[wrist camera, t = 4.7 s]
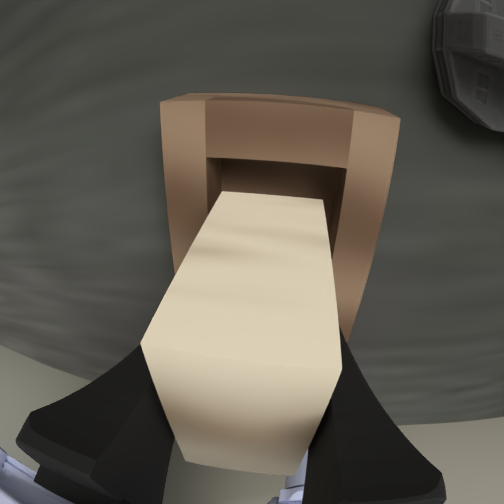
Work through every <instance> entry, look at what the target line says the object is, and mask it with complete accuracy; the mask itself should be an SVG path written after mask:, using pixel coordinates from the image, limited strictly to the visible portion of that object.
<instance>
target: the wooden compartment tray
mask: <svg viewBox="0 0 504 504" xmlns="http://www.w3.org/2000/svg"><path fill="white" fill-rule="evenodd" d="M160 113H161V134H162V151H163V165H164V178H165V190H166V201H167V211H168V221H169V230H170V239H171V248H172V256H173V264H174V271H175V275H176V273H177V271H178V269H179V267H180V265H181V264H182V262H183V260H184V258H185V256H186V254H187V253H188V251H189V249H190V247H191V245H192V243H193V242H194V240H195V238H196V236H197V234H198V233H199V231H200V229H201V227H202V226H203V224H204V222H205V220H206V218H207V217H208V215H209V213H210V211H211V210H212V208H213V206H214V204H215V203H216V201H217V199H218V198H219V196H220V194H221V192H222V191H225V192H240V193H254V194H266V195H278V196H290V197H300V198H311V199H320V200H323V204H324V210H325V217H326V223H327V230H328V237H329V244H330V252H331V259H332V267H333V276H334V284H335V293H336V302H337V312H338V323H339V325H340V328H341V330H342V333H343V335H344V338H345V340H346V342H348V339H349V336H350V333H351V330H352V327H353V324H354V321H355V318H356V314H357V311H358V308H359V305H360V301H361V298H362V295H363V291H364V288H365V285H366V281H367V278H368V274H369V270H370V267H371V263H372V259H373V255H374V252H375V248H376V244H377V240H378V236H379V231H380V227H381V223H382V218H383V214H384V210H385V205H386V200H387V195H388V191H389V186H390V180H391V175H392V170H393V164H394V159H395V153H396V147H397V140H398V134H399V127H400V120H401V119H400V118H398V117H397V116H395V115H393V114H391V113H389V112H387V111H385V110H383V109H381V108H379V107H376V106H370V105H364V104H357V103H350V102H343V101H336V100H328V99H319V98H309V97H298V96H285V95H269V94H245V93H194V94H186V95H182V96H179V97H175V98H172V99H169V100H165V101H162V102H160Z"/></svg>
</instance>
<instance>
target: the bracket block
mask: <svg viewBox="0 0 504 504" xmlns="http://www.w3.org/2000/svg"><path fill="white" fill-rule="evenodd" d="M140 344H141V347H142V350H143V353H144V356H145V359H146V362H147V365H148V368H149V371H150V374H151V377H152V379H153V382H154V385H155V388H156V390H157V393H158V396H159V398H160V401H161V404H162V406H163V409H164V411H165V414H166V416H167V419H168V421H169V424H170V426H171V429H172V431H173V433H174V436H175V438H176V440H177V442H178V445H179V447H180V449H181V452H182V454H183V456H184V458H185V460H186V461H187V462H192V463H197V464H202V465H207V466H212V467H219V468H224V469H231V470H238V471H245V472H253V473H262V474H272V475H284V476H294V475H295V473H296V471H297V469H298V468H299V466H300V464H301V462H302V460H303V458H304V455H305V453H306V451H307V449H308V447H309V445H310V443H311V441H312V439H313V437H314V435H315V432H316V430H317V428H318V426H319V424H320V421H321V419H322V417H323V415H324V412H325V410H326V408H327V405H328V403H329V401H330V398H331V396H332V393H333V391H334V388H335V386H336V384H337V381H338V378H339V376H340V373H341V371H342V359H341V346H340V334H339V323H338V312H337V302H336V293H335V284H334V276H333V267H332V259H331V252H330V244H329V237H328V230H327V223H326V217H325V210H324V204H323V200H320V199H311V198H300V197H290V196H278V195H266V194H254V193H240V192H225V191H222V192H221V194H220V196H219V198H218V199H217V201H216V203H215V204H214V206H213V208H212V210H211V211H210V213H209V215H208V217H207V218H206V220H205V222H204V224H203V226H202V227H201V229H200V231H199V233H198V234H197V236H196V238H195V240H194V242H193V243H192V245H191V247H190V249H189V251H188V253H187V254H186V256H185V258H184V260H183V262H182V264H181V265H180V267H179V269H178V271H177V273H176V275H175V277H174V279H173V280H172V282H171V284H170V286H169V288H168V290H167V292H166V294H165V296H164V298H163V299H162V301H161V303H160V305H159V307H158V309H157V311H156V313H155V315H154V317H153V319H152V321H151V323H150V325H149V327H148V329H147V331H146V333H145V335H144V337H143V339H142V341H141V343H140Z"/></svg>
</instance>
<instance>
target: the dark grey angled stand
mask: <svg viewBox="0 0 504 504" xmlns="http://www.w3.org/2000/svg"><path fill="white" fill-rule="evenodd" d="M431 51H432V55H433V59H434V64H435V68H436V73H437V78H438V83H439V88H440V93H441V95H442V96H443V97H444V98H446V99H447V100H448V101H449V102H450V103H452V104H453V105H454V106H455V107H457V108H458V109H459V110H460V111H461V112H462V113H464V114H465V115H466V116H467V117H468V118H469V119H470V120H472V121H473V122H475V123H477V124H479V125H481V126H484V127H486V128H488V129H490V130H493V131H499V132H504V0H439V2H438V5H437V7H436V9H435V12H434V14H433V25H432V48H431Z"/></svg>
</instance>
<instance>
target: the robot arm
mask: <svg viewBox="0 0 504 504" xmlns="http://www.w3.org/2000/svg"><path fill="white" fill-rule="evenodd" d="M339 334H340V346H341V359H342V371H341V373H340V376H339V378H338V381H337V384H336V386H335V388H334V391H333V393H332V396H331V398H330V401H329V403H328V405H327V408H326V410H325V412H324V415H323V417H322V419H321V421H320V424H319V426H318V428H317V430H316V432H315V435H314V437H313V439H312V441H311V443H310V445H309V447H308V449H307V451H306V453H305V455H304V458H303V460H302V462H301V464H300V466H299V468H298V469H297V471H296V473H295V475H294V476H286V482H285V489H280V492H279V497H274V498H272V499H271V501H269V502H268V503H267V504H443V503H444V502H445V501H446V490H445V484H444V480H443V476H442V473H441V472H440V471H439V470H438V469H437V468H436V467H435V466H433V465H432V464H431V463H430V462H429V461H428V460H427V459H426V458H425V457H424V456H423V455H422V454H421V453H420V452H419V451H418V450H417V449H416V448H415V447H414V446H413V445H412V444H411V443H410V441H409V440H408V439H407V438H406V437H405V436H404V434H403V433H402V432H401V431H400V429H399V428H398V427H397V426H396V425H395V423H394V422H393V421H392V420H391V418H390V417H389V416H388V414H387V413H386V411H385V410H384V409H383V407H382V406H381V404H380V403H379V401H378V400H377V398H376V397H375V395H374V394H373V392H372V390H371V389H370V387H369V385H368V384H367V382H366V380H365V378H364V377H363V375H362V373H361V371H360V369H359V367H358V365H357V363H356V361H355V359H354V357H353V355H352V353H351V351H350V349H349V347H348V344H347V342H346V340H345V338H344V335H343V333H342V330H341V328H340V325H339ZM174 438H175V436H174V433H173V431H172V429H171V426H170V424H169V421H168V419H167V416H166V414H165V411H164V409H163V406H162V404H161V401H160V398H159V396H158V393H157V390H156V388H155V385H154V382H153V379H152V377H151V374H150V371H149V368H148V365H147V362H146V359H145V356H144V353H143V350H142V347H141V344H140V345H139V346H138V347H137V348H136V349H135V350H134V351H132V352H131V353H130V354H129V355H128V356H127V357H126V358H124V359H123V360H122V361H121V362H119V363H118V364H117V365H116V366H114V367H113V368H112V369H110V370H109V371H108V372H106V373H105V374H103V375H102V376H100V377H99V378H97V379H96V380H94V381H93V382H91V383H90V384H88V385H87V386H85V387H83V388H81V389H80V390H78V391H76V392H74V393H72V394H71V395H69V396H67V397H65V398H63V399H61V400H59V401H57V402H54V403H52V404H50V405H47V406H45V407H42V408H40V409H37V410H35V411H32V412H31V413H30V414H29V416H28V417H27V419H26V421H25V423H24V425H23V427H22V429H21V431H20V433H19V434H18V436H17V438H16V444H17V445H18V446H19V448H21V449H22V450H23V451H24V452H25V453H26V454H27V455H29V456H30V457H31V458H32V459H34V460H35V461H36V462H38V463H39V464H40V467H39V469H38V472H36V471H34V470H32V469H31V468H29V467H27V466H26V465H24V464H22V463H21V462H19V461H17V460H16V459H14V458H13V457H11V456H10V455H8V454H7V453H6V452H5V451H4V450H3V449H2V448H0V504H162V501H163V494H164V488H165V482H166V476H167V471H168V466H169V461H170V456H171V451H172V447H173V442H174Z"/></svg>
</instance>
